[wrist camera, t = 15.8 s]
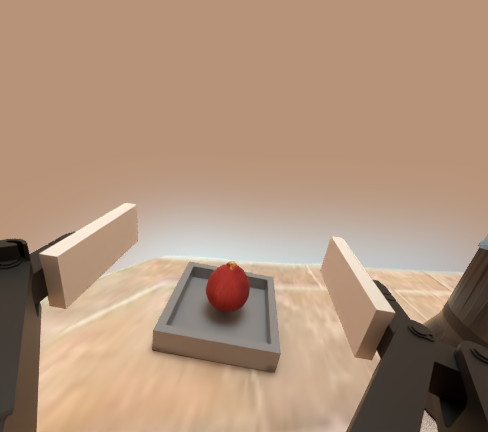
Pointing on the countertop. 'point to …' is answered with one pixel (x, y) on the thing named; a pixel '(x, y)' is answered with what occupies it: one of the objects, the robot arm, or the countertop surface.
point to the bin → (220, 323)
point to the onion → (228, 288)
